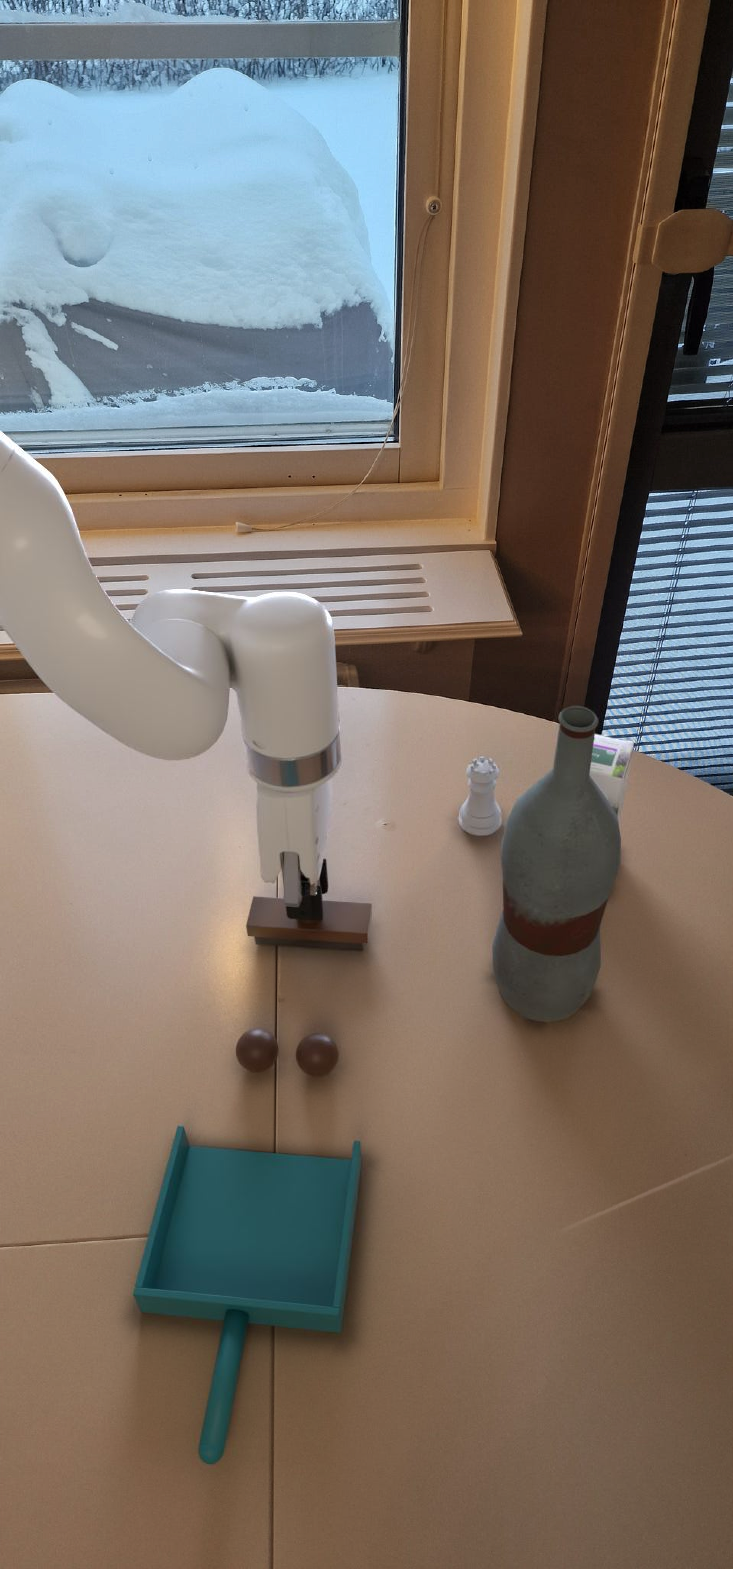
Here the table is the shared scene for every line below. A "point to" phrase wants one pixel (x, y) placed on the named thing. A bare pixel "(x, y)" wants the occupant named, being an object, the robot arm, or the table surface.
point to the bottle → (556, 881)
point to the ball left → (257, 1050)
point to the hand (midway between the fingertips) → (308, 902)
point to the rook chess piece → (481, 799)
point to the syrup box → (611, 768)
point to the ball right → (317, 1054)
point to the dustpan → (248, 1252)
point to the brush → (310, 925)
